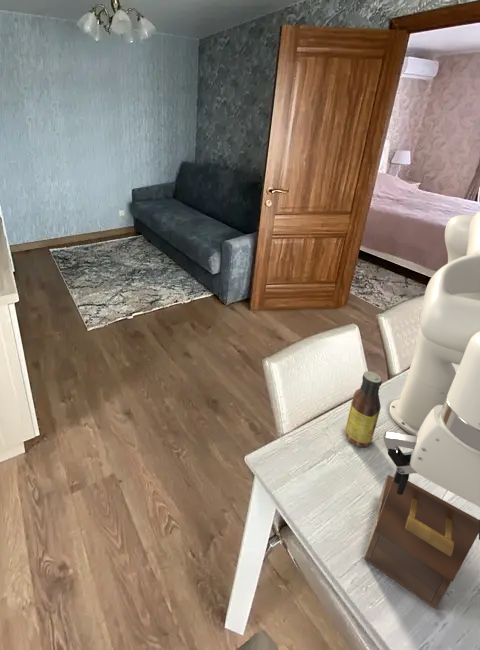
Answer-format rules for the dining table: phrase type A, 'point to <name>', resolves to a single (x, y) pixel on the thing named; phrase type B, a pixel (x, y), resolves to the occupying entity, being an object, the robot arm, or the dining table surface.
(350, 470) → the dining table surface
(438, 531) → the box lid
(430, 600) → the storage box
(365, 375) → the sauce bottle
